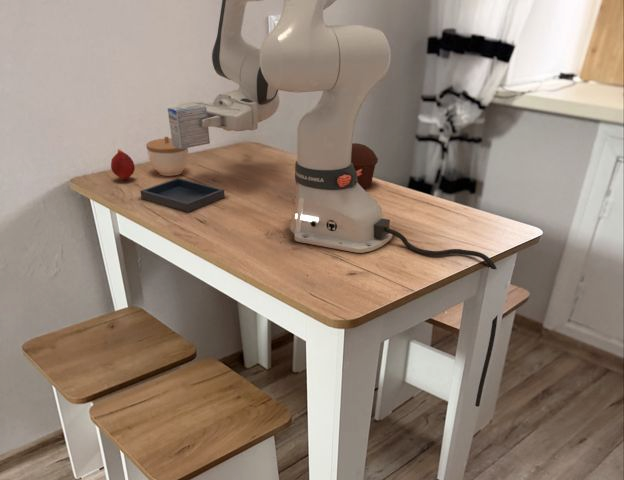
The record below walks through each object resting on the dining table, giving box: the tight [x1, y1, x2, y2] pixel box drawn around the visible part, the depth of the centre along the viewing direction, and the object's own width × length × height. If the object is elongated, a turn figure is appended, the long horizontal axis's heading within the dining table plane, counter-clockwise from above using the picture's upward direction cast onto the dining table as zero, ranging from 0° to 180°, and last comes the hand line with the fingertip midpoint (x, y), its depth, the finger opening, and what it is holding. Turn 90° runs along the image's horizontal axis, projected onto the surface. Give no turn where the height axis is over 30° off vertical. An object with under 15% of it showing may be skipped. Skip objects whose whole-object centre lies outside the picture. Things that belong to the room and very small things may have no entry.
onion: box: [110, 148, 136, 181], centre depth 154 cm, size 6×6×8 cm
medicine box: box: [167, 104, 211, 149], centre depth 140 cm, size 8×4×9 cm, turn 130°
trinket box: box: [145, 136, 189, 177], centre depth 160 cm, size 11×11×9 cm
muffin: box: [351, 142, 379, 190], centre depth 153 cm, size 12×11×10 cm
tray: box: [139, 177, 226, 213], centre depth 145 cm, size 16×13×2 cm
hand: (191, 121), depth 140 cm, fingers closed on medicine box, 5 cm apart
